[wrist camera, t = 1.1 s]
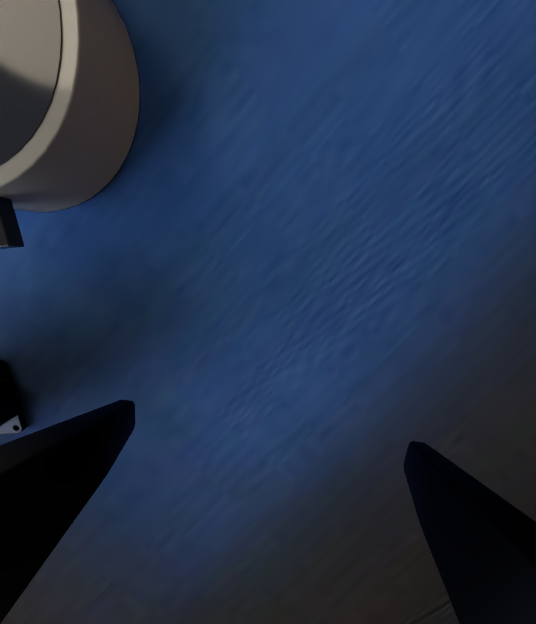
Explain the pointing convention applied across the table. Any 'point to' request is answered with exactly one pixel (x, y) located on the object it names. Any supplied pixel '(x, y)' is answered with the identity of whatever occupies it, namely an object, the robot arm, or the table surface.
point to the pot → (62, 105)
